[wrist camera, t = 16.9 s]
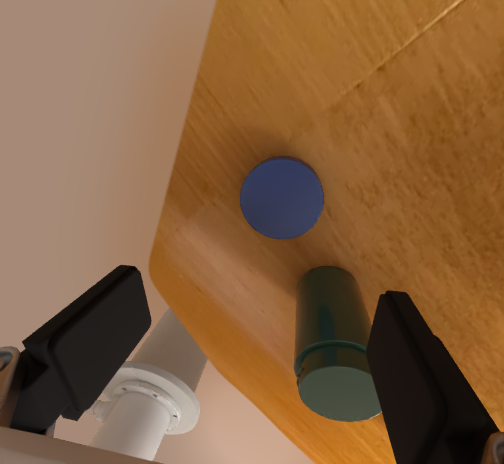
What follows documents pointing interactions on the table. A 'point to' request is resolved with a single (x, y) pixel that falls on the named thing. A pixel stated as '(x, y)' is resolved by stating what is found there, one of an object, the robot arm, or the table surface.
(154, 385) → the robot arm
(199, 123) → the table surface
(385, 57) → the table surface
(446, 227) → the table surface
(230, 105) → the table surface
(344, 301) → the jam jar
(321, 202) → the lid
